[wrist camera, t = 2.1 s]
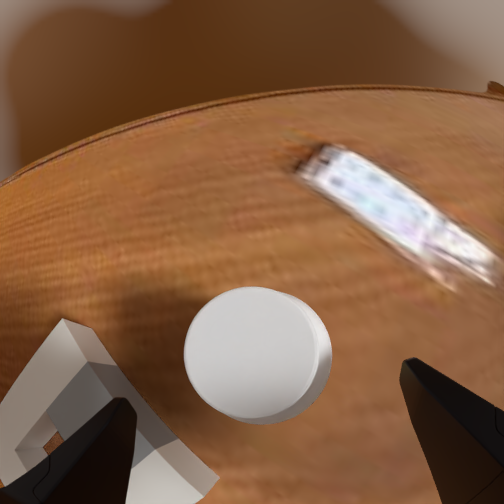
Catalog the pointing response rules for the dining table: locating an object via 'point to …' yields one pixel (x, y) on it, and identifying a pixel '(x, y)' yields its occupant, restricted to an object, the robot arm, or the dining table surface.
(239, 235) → the dining table surface
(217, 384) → the supplement bottle
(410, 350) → the dining table surface
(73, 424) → the socket block
